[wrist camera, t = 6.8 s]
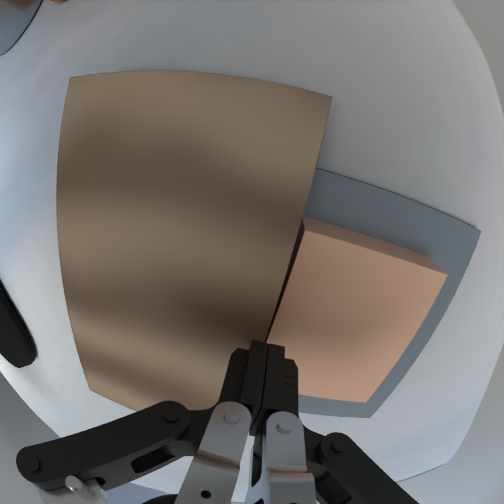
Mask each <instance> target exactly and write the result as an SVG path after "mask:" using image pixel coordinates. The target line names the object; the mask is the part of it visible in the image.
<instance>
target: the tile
mask: <svg viewBox="0 0 504 504" xmlns="http://www.w3.org/2000/svg"><path fill="white" fill-rule="evenodd" d="M446 277H447V274H446V273H445V272H444V271H443V270H442V269H441V268H440V267H439V266H438V265H437V264H436V263H435V262H434V261H433V260H431V259H430V258H429V257H428V256H426V255H423V254H420V253H418V252H415V251H412V250H409V249H406V248H403V247H401V246H398V245H395V244H392V243H389V242H386V241H383V240H380V239H377V238H374V237H371V236H368V235H365V234H361V233H358V232H355V231H352V230H349V229H346V228H342V227H339V226H336V225H333V224H329V223H326V222H323V221H319V220H316V219H312V218H309V217H306V216H302V220H301V223H300V227H299V231H298V234H297V238H296V241H295V245H294V248H293V252H292V255H291V259H290V262H289V265H288V269H287V272H286V275H285V279H284V282H283V285H282V289H281V292H280V295H279V298H278V301H277V305H276V308H275V311H274V314H273V317H272V320H271V324H270V327H269V330H268V333H267V336H266V339H265V342H266V343H268V344H269V343H271V344H276V345H280V346H285V358H288V359H293V360H294V361H295V363H296V365H297V367H298V394H300V395H306V396H313V397H319V398H327V399H335V400H343V401H353V402H364V403H366V401H367V400H368V399H369V398H370V397H371V395H372V394H373V393H374V392H375V390H376V389H377V388H378V387H379V385H380V384H381V383H382V382H383V380H384V379H385V378H386V376H387V375H388V374H389V372H390V371H391V369H392V368H393V367H394V365H395V364H396V362H397V361H398V360H399V358H400V357H401V355H402V354H403V352H404V351H405V349H406V348H407V346H408V345H409V343H410V342H411V340H412V339H413V337H414V335H415V334H416V332H417V331H418V329H419V327H420V326H421V324H422V322H423V321H424V319H425V317H426V315H427V314H428V312H429V310H430V308H431V307H432V305H433V303H434V301H435V299H436V297H437V295H438V293H439V292H440V290H441V288H442V286H443V284H444V282H445V280H446Z"/></svg>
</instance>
